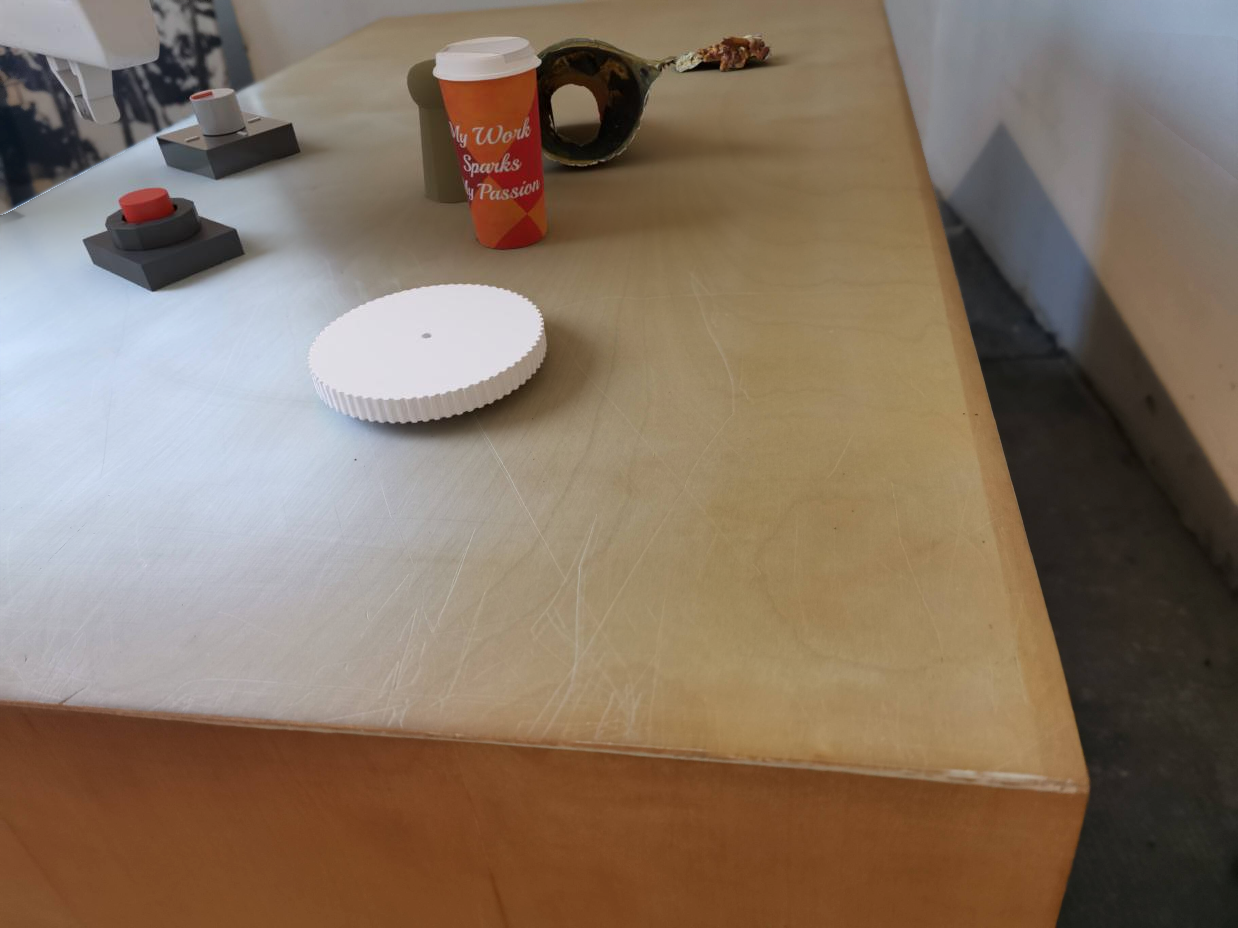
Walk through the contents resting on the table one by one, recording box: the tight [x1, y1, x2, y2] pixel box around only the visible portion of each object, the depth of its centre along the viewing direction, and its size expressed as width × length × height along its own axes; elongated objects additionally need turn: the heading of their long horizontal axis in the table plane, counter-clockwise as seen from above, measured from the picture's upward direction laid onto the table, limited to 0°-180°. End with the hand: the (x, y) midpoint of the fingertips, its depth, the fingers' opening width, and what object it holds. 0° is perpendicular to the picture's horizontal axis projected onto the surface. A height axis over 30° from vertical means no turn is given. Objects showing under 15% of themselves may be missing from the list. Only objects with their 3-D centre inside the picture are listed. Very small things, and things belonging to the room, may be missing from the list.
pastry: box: [674, 33, 772, 73], centre depth 108 cm, size 7×12×4 cm, turn 98°
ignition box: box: [81, 197, 246, 293], centre depth 69 cm, size 10×8×4 cm
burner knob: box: [189, 87, 245, 135], centre depth 89 cm, size 4×4×4 cm
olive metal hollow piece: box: [536, 37, 679, 167], centre depth 84 cm, size 17×11×18 cm
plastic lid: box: [306, 283, 548, 424], centre depth 52 cm, size 14×14×2 cm
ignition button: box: [118, 187, 175, 223], centre depth 68 cm, size 4×4×2 cm
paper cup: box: [433, 36, 547, 250], centre depth 65 cm, size 8×8×14 cm
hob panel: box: [155, 111, 301, 181], centre depth 91 cm, size 10×10×3 cm
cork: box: [406, 58, 468, 204], centre depth 76 cm, size 6×6×11 cm
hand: (101, 120), depth 64 cm, fingers closed
